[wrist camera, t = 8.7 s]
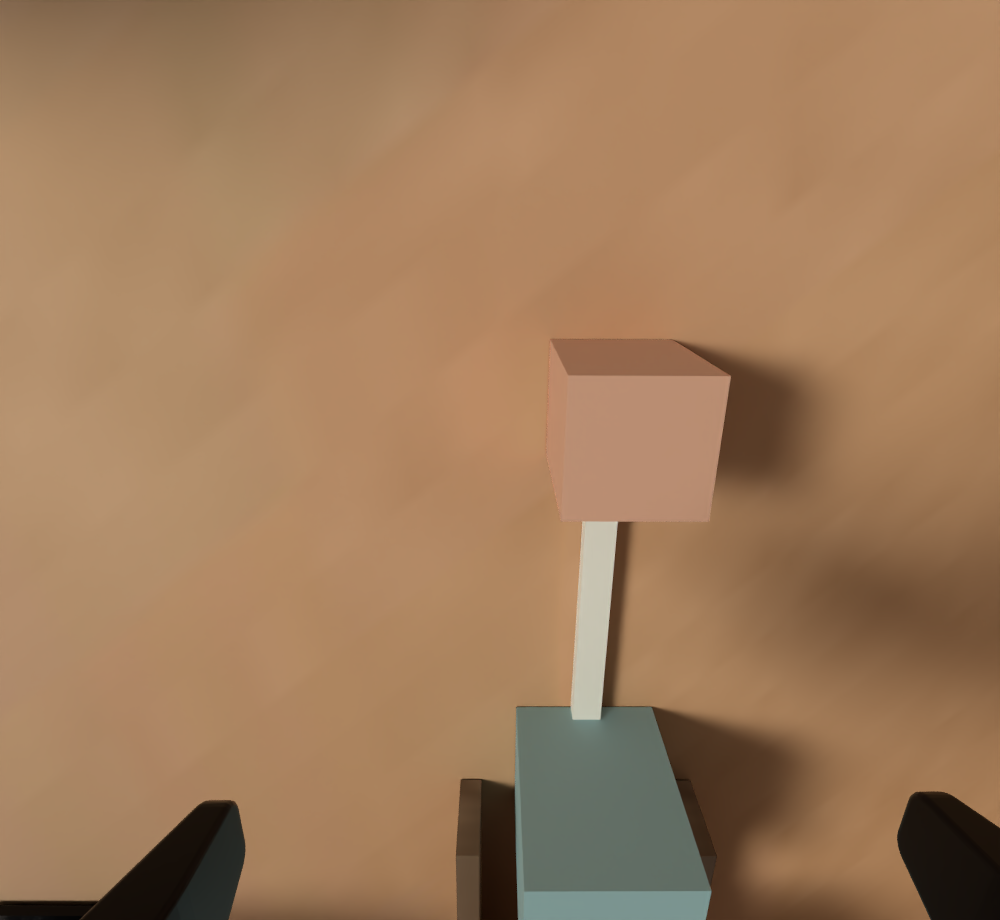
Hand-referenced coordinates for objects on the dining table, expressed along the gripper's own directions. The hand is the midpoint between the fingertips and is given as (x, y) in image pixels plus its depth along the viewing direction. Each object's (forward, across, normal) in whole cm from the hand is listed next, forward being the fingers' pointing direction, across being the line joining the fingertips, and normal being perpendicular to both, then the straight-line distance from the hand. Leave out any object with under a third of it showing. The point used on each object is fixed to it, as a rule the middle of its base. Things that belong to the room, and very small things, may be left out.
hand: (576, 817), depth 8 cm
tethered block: (+11, -2, +5) cm, 13 cm away
